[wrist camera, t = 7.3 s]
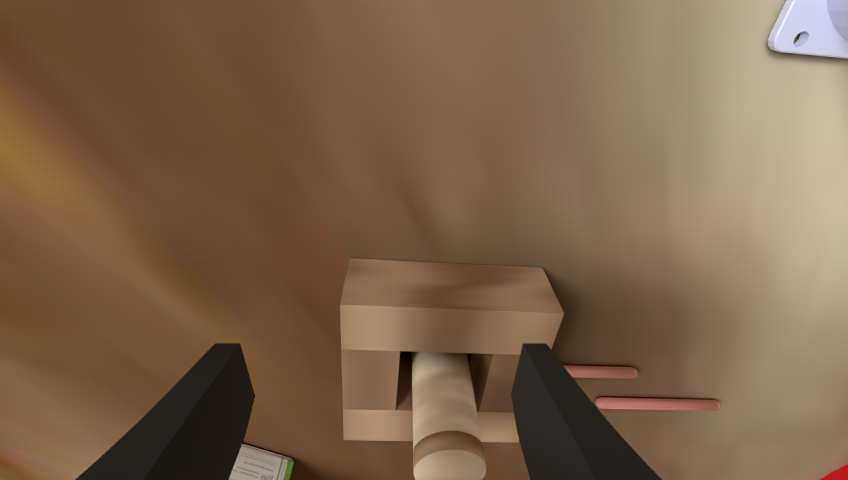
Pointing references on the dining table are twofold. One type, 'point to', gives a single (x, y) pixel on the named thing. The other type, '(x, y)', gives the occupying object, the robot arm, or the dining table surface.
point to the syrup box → (260, 465)
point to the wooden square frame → (437, 337)
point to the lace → (636, 402)
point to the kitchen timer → (838, 474)
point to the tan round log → (445, 419)
